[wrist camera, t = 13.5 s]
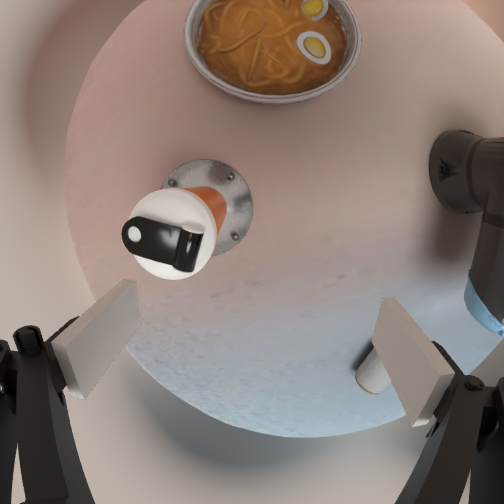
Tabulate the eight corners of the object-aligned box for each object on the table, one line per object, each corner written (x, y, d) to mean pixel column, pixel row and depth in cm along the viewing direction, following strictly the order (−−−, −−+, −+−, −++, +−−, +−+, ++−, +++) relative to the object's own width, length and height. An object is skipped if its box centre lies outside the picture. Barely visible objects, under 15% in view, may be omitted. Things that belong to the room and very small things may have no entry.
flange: (198, 140, 41) (197, 139, 40) (273, 203, 43) (273, 204, 42) (141, 214, 44) (139, 215, 43) (211, 273, 47) (210, 275, 46)
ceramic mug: (348, 369, 51) (358, 395, 44) (371, 338, 49) (385, 362, 42) (385, 379, 53) (397, 402, 45) (407, 350, 50) (422, 372, 43)
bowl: (364, 39, 34) (385, 14, 25) (301, 144, 40) (313, 136, 31) (243, -16, 32) (239, -49, 22) (172, 80, 38) (149, 60, 28)
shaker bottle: (179, 176, 41) (116, 186, 22) (237, 184, 42) (215, 198, 22) (173, 233, 44) (114, 281, 25) (229, 242, 44) (203, 299, 25)
